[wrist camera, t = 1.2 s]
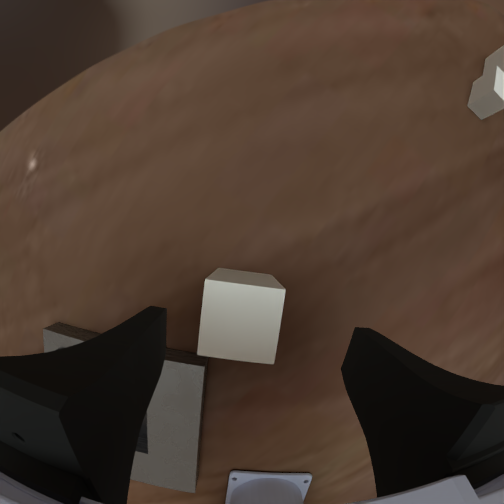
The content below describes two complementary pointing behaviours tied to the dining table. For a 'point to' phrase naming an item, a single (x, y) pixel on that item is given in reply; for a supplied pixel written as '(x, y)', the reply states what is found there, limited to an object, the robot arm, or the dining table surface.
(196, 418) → the socket
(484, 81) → the notched white block
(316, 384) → the dining table surface
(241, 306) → the plug
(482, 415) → the robot arm
